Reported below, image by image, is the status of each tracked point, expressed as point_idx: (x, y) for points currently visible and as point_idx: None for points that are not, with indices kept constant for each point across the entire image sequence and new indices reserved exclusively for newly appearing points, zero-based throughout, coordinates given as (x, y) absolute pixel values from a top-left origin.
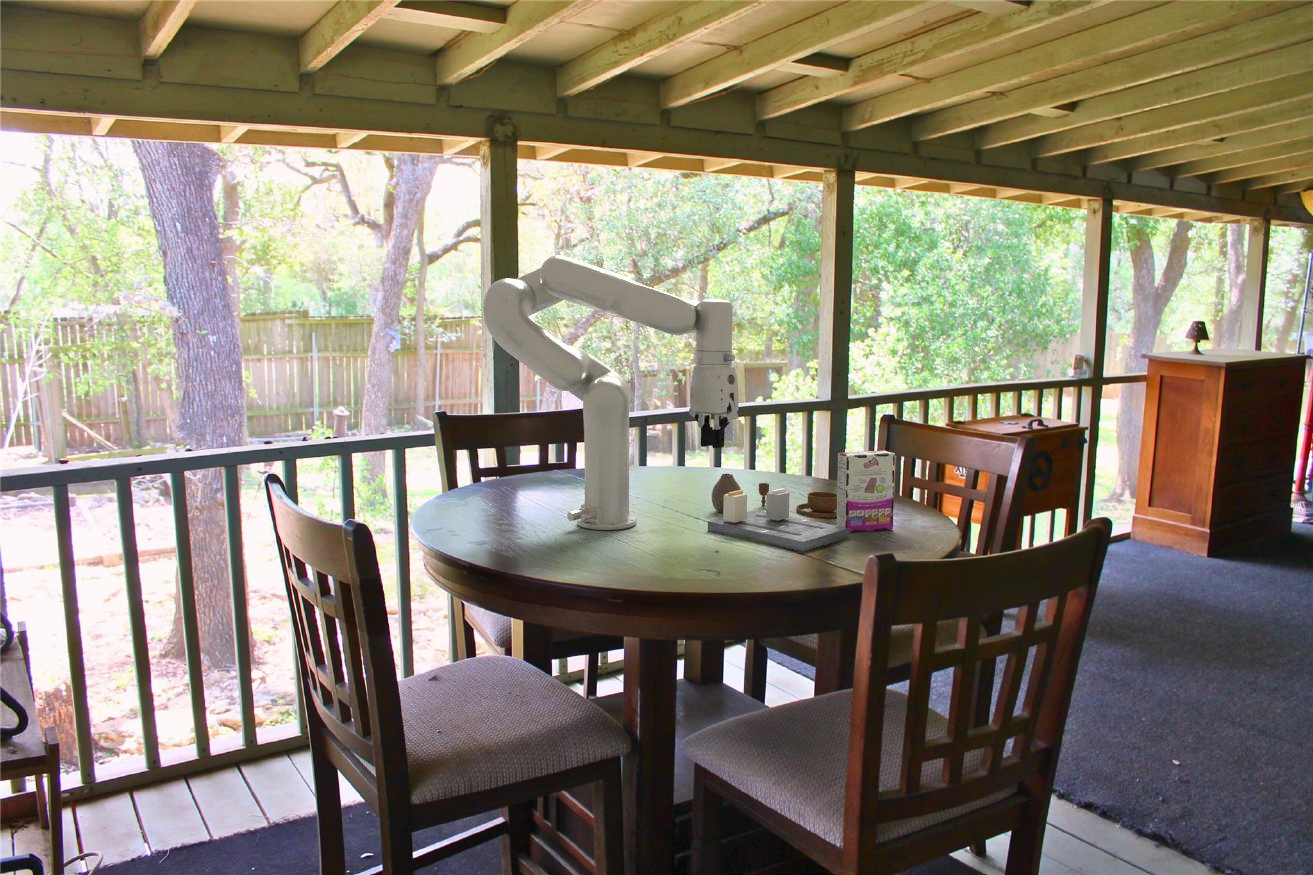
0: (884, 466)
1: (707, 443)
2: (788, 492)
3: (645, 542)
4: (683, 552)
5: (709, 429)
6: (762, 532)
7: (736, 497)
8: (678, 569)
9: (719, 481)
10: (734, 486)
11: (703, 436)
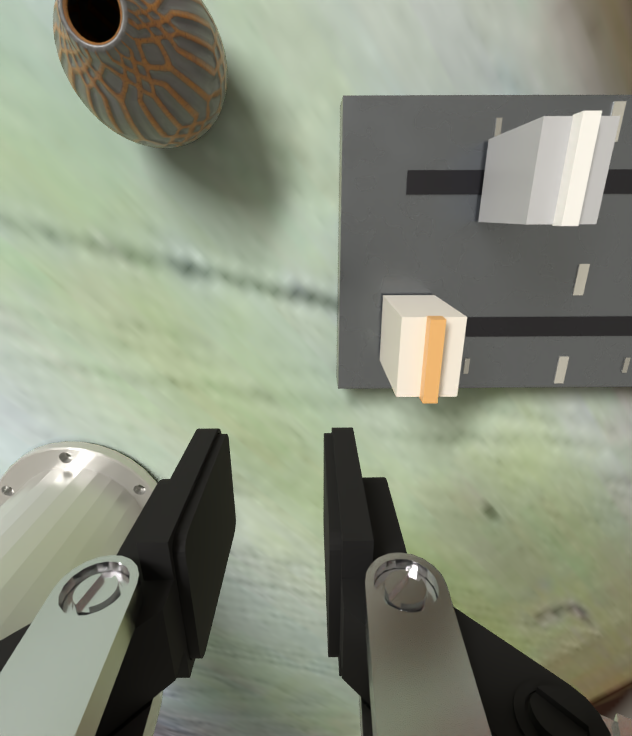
0: None
1: (230, 499)
2: (615, 122)
3: (307, 559)
4: (432, 561)
5: (193, 576)
6: (558, 383)
7: (457, 386)
8: (502, 639)
9: (103, 87)
10: (189, 52)
11: (219, 592)
